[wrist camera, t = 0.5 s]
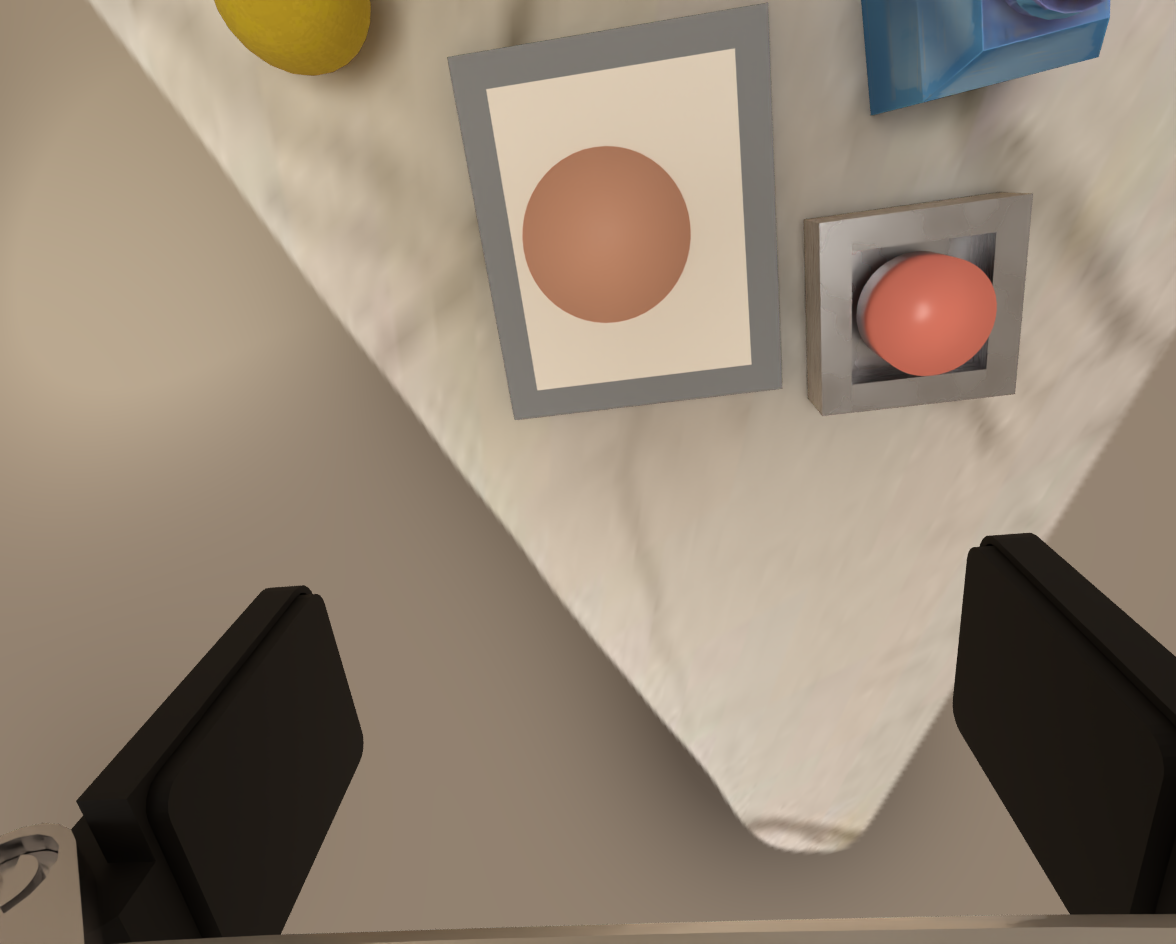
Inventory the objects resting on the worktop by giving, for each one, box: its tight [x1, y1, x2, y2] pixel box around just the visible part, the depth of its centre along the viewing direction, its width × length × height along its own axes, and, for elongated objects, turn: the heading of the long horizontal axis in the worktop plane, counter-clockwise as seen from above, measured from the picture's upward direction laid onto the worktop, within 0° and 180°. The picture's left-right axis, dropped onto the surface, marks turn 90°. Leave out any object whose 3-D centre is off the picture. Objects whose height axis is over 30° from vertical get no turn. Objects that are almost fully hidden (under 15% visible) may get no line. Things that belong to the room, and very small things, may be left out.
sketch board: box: [447, 3, 782, 420], centre depth 34 cm, size 17×14×1 cm
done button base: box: [804, 192, 1033, 416], centre depth 34 cm, size 9×9×3 cm
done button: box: [856, 251, 997, 376], centre depth 32 cm, size 5×5×3 cm
